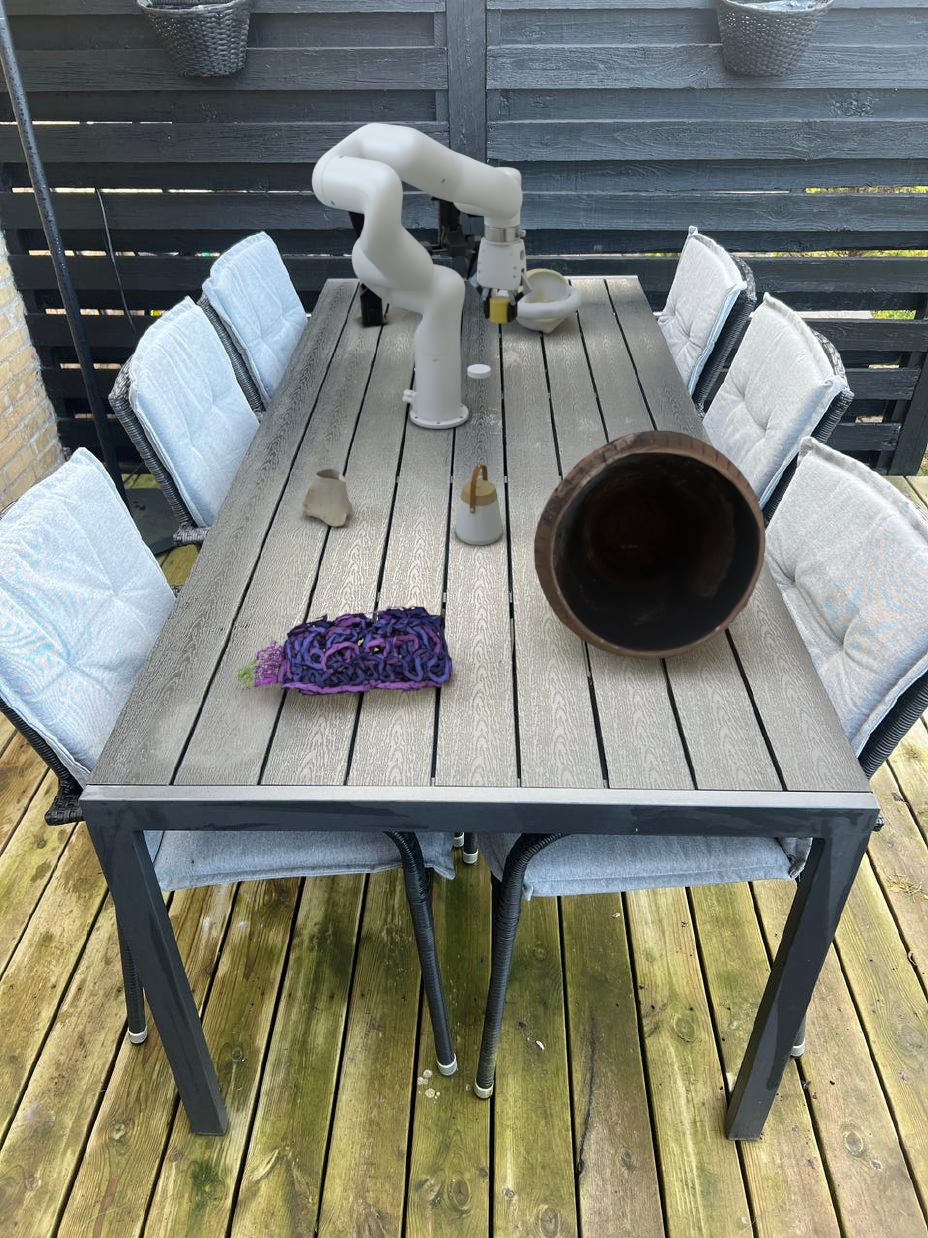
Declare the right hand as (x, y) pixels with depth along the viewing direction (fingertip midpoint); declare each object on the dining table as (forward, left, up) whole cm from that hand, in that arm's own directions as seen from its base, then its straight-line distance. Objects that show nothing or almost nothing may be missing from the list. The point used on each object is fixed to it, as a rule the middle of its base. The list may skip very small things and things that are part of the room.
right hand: (500, 317), depth 206 cm
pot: (+61, -67, -15) cm, 91 cm away
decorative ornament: (+32, -104, -15) cm, 110 cm away
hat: (-7, +34, -15) cm, 37 cm away
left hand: (-31, +30, -5) cm, 43 cm away
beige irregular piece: (+2, -69, -15) cm, 71 cm away
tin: (0, 0, 0) cm, 0 cm away
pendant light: (+29, -60, -15) cm, 68 cm away
